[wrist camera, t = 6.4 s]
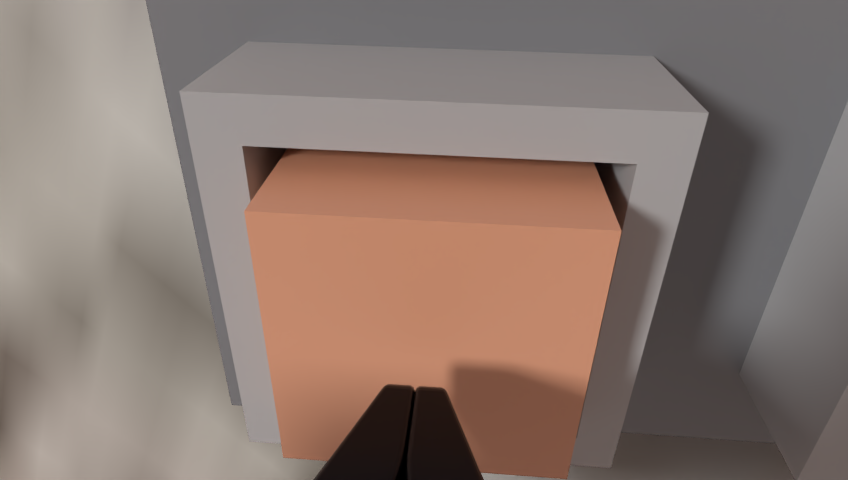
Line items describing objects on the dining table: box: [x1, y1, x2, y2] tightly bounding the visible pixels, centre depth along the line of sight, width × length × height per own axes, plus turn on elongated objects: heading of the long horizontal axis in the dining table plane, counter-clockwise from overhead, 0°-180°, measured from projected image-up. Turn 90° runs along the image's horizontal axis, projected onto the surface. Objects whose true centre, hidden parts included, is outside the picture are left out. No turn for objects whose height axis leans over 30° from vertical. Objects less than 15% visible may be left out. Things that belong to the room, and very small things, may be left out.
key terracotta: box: [244, 148, 621, 479], centre depth 10 cm, size 5×5×3 cm
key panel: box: [146, 0, 848, 480], centre depth 12 cm, size 12×22×5 cm, turn 89°
